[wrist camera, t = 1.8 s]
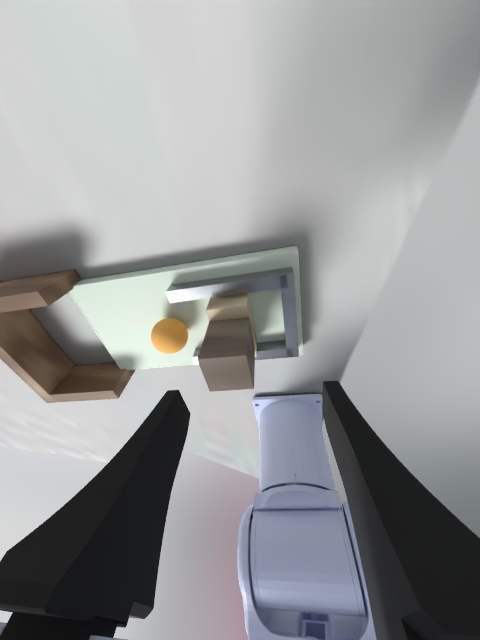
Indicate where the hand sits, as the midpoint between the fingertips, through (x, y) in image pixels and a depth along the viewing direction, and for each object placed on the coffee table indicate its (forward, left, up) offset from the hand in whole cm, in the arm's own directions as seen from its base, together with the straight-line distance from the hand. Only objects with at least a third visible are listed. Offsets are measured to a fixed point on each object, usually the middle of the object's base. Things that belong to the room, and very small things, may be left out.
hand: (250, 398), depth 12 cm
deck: (-1, +6, -10) cm, 12 cm away
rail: (-1, +2, -9) cm, 9 cm away
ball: (-1, +7, -7) cm, 10 cm away
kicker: (-1, +2, -9) cm, 9 cm away
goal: (-1, +19, -10) cm, 22 cm away
